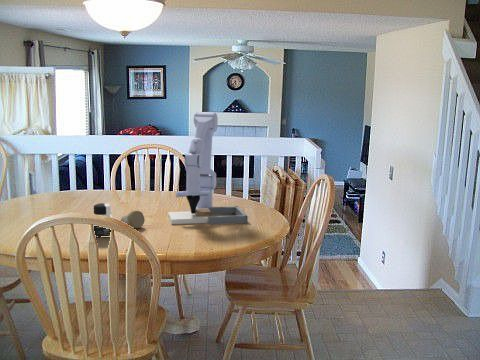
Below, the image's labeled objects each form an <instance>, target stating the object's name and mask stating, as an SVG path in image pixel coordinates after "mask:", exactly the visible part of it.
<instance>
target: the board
mask: <svg viewBox="0 0 480 360" xmlns="http://www.w3.org/2000/svg"><path fill="white" fill-rule="evenodd" d="M167 214H168V216H167V217H168V219H169V222H170V224H171V225H185V224H187V225H188V224H189V225H190V224H208V216H200V217H196V215H195V214H192V213H191V210H190V211H168V212H167Z"/></svg>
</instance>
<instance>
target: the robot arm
mask: <svg viewBox="0 0 480 360" xmlns="http://www.w3.org/2000/svg"><path fill="white" fill-rule="evenodd" d="M218 119H219V118H218V114H217V113H216V112H201V111H200V112H197V111H196V112H194V114H193V124H194V126H195V128H196V130H195V134H194V138H193V139H192V140H191V142H190V146H189V149H188V152H187V153H185V155H184V167H185V171H186V174H185V176H186V180H185V181H186V185H185V187H186V189H185V190H182V191H175V198H181V197H183V198H184V197H185V198H186V199H187V202H188V204H189V209H190V211H191V213H192V214H195V210H196V208H202V207H214V206H213V196H214V195H213V190H215V189H216V187H217V173H216V172H215V171H214V170H213V169H212V168H211V167H212V150H213V149H212V146H213V136H214V133H216V132H217V130H218V124H219V123H218Z"/></svg>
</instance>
